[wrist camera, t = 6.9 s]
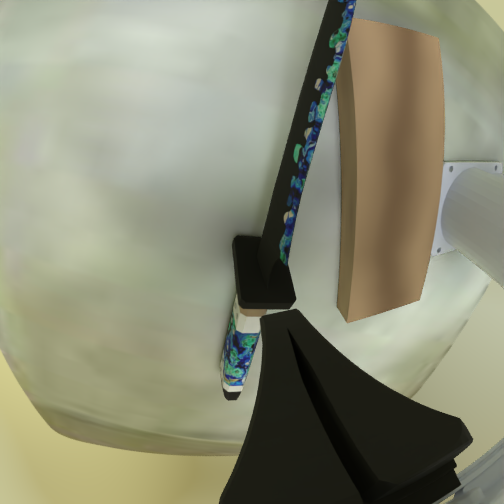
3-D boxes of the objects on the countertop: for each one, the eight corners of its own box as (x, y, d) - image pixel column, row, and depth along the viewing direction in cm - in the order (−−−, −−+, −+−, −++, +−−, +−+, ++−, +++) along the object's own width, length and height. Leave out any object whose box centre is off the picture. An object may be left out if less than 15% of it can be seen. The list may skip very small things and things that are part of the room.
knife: (232, 361, 25) (242, 404, 21) (199, 360, 24) (205, 405, 20) (368, -21, 9) (418, -35, 6) (322, -45, 8) (365, -71, 5)
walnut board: (419, 40, 13) (438, 38, 11) (407, 286, 23) (419, 300, 21) (328, 24, 12) (344, 16, 10) (336, 306, 22) (346, 323, 20)
